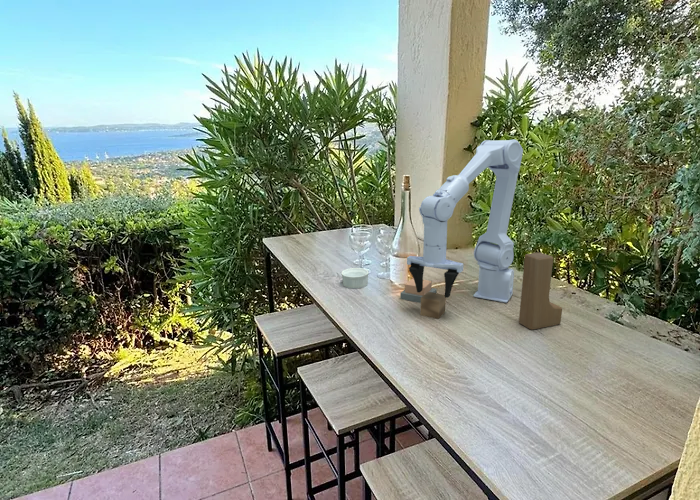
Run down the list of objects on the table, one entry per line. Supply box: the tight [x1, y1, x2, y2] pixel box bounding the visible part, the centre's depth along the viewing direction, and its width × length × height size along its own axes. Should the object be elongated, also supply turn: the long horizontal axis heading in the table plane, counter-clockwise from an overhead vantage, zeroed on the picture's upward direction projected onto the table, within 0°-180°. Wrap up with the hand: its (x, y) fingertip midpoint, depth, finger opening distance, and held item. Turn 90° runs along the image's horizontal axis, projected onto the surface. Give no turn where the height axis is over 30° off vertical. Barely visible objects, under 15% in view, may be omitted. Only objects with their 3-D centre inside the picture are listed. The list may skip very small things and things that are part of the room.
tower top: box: [404, 277, 433, 296], centre depth 116 cm, size 6×6×2 cm
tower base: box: [399, 287, 438, 304], centre depth 117 cm, size 8×8×2 cm
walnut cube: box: [419, 292, 447, 320], centre depth 105 cm, size 5×5×5 cm
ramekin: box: [341, 267, 370, 290], centre depth 128 cm, size 9×9×4 cm
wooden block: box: [518, 252, 563, 331], centre depth 96 cm, size 9×4×18 cm, turn 108°
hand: (433, 293), depth 104 cm, fingers open, 7 cm apart
